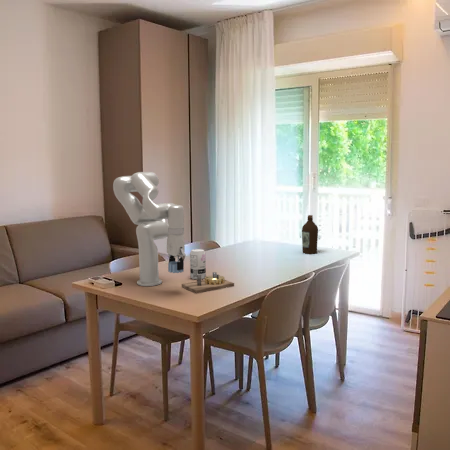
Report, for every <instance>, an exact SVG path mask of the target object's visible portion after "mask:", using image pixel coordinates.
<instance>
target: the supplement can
mask: <svg viewBox="0 0 450 450" xmlns="http://www.w3.org/2000/svg"><path fill="white" fill-rule="evenodd" d="M206 253H207V252H205V249H204V248H203V249H202V248H194V249H191V250H190V253H189V268H190V269H189V270H190V272H189V273H190V274H189V275H190V276H189V277H190V278H191V279H192V280H197V275H201V280H205V278H206V276H207V269H206V268H207V267H206V266H207V265H206V260H207V259H206Z"/></svg>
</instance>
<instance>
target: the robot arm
mask: <svg viewBox="0 0 450 450" xmlns="http://www.w3.org/2000/svg"><path fill="white" fill-rule="evenodd" d="M159 179H160V178H159V177H158V175H157V173H155V172H154V171H138V172H135V173H133V174H132V175H123V176H119V177H116V178H115V179H114V180H113V184H112V189H113V194H114V196H115V197H116V199H117V200H118V202H119V203H120V204H121V206H123V208H124V210H125V212H126V214H127V215H128V216H129V218H130V221H131V222H132V223H133V224H134V225H137V226H136V228H135V233H136V235H135V236H136V239H137V244H138V263H139V264H138V265H139V267H138V268H139V279H138V280H137V282H136V284H137V285H138V286H142V287H154V286H159V285H161V284H162V283H163V282H162V279H161V278H160V277H159V275H160V274H159V272H160V271H159V251H158V246H157V244H156V243H155V240H163V239H166V253H167V254H168V256H167V257H168V262H171V261H172V262H173V261H178V262H177V270H183V269H184V268H185V267H184V261H185V258H186V256H187V255H186V251H185V209H184V206H183V205H182V204H181V205H180V204H175V203H173V202H166V203H165V202H164V203H163V202H162V203H155V202H153V200H155V199H156V198H157V197H158V196H159V189H158V185H159V183H160V182H159V181H160V180H159ZM135 192H136V193H138V194H139V195H140V197H142V202H140V200H139V199H138V197H137V196H135V195H134V194H133V193H135Z"/></svg>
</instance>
